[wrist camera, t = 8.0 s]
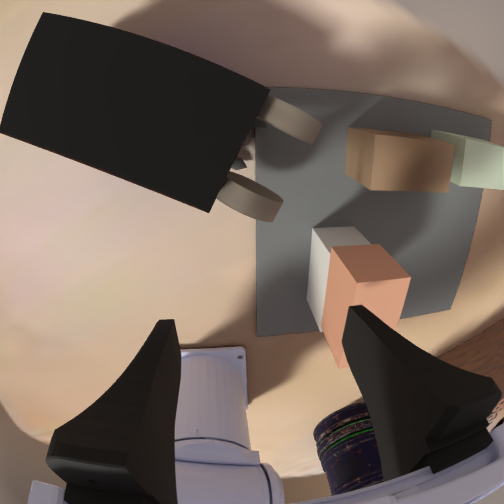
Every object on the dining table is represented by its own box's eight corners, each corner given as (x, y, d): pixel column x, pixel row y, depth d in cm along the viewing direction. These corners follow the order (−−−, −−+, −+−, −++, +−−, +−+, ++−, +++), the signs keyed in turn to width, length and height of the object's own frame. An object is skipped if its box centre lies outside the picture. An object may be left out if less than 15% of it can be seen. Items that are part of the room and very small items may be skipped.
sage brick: (482, 139, 20) (515, 150, 16) (478, 175, 21) (509, 190, 18) (431, 129, 19) (466, 138, 16) (427, 170, 21) (459, 186, 17)
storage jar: (372, 434, 38) (404, 518, 25) (307, 448, 37) (331, 541, 24) (393, 394, 34) (439, 492, 21) (318, 410, 33) (353, 524, 20)
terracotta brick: (363, 320, 21) (385, 359, 18) (320, 326, 21) (338, 368, 18) (379, 243, 19) (411, 277, 15) (331, 246, 18) (357, 283, 15)
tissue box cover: (432, 358, 32) (471, 419, 23) (513, 309, 31) (556, 355, 22) (418, 441, 44) (437, 483, 35) (481, 405, 43) (504, 442, 34)
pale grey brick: (344, 295, 25) (362, 326, 22) (306, 299, 25) (320, 331, 21) (354, 226, 22) (377, 251, 19) (312, 228, 22) (330, 254, 19)
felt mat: (448, 307, 28) (450, 309, 28) (256, 334, 26) (257, 336, 26) (489, 119, 19) (491, 120, 19) (254, 87, 18) (255, 86, 17)
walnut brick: (420, 134, 20) (454, 144, 16) (416, 176, 21) (448, 192, 18) (347, 127, 19) (374, 134, 16) (344, 173, 21) (370, 190, 17)
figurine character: (297, 107, 20) (85, 27, 14) (350, 121, 13) (34, 3, 8) (253, 194, 22) (49, 123, 17) (282, 247, 16) (-12, 147, 10)
